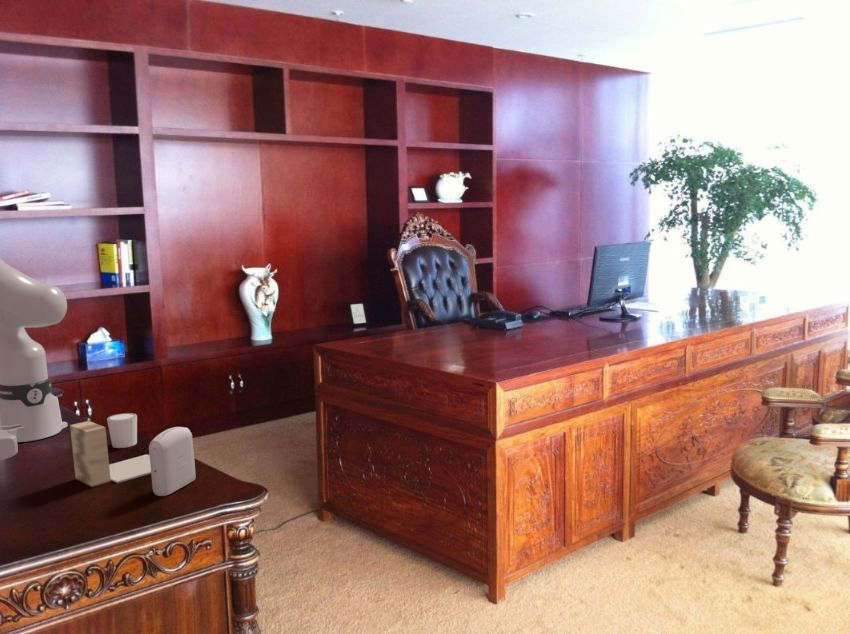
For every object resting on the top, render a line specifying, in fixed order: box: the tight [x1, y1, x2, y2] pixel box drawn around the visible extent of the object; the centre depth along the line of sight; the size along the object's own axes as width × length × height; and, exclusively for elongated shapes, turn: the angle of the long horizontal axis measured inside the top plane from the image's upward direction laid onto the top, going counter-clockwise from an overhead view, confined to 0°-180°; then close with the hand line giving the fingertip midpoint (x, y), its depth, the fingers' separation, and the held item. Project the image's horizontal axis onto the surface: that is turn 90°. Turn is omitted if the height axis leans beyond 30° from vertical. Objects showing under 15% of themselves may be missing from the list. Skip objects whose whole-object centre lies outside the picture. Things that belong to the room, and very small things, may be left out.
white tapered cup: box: [106, 412, 138, 449], centre depth 196 cm, size 7×7×7 cm
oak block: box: [69, 420, 112, 488], centre depth 171 cm, size 8×4×12 cm, turn 47°
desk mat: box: [109, 454, 151, 484], centre depth 178 cm, size 12×13×1 cm
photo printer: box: [148, 426, 197, 497], centre depth 165 cm, size 10×4×12 cm, turn 158°
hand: (23, 429), depth 160 cm, fingers closed
